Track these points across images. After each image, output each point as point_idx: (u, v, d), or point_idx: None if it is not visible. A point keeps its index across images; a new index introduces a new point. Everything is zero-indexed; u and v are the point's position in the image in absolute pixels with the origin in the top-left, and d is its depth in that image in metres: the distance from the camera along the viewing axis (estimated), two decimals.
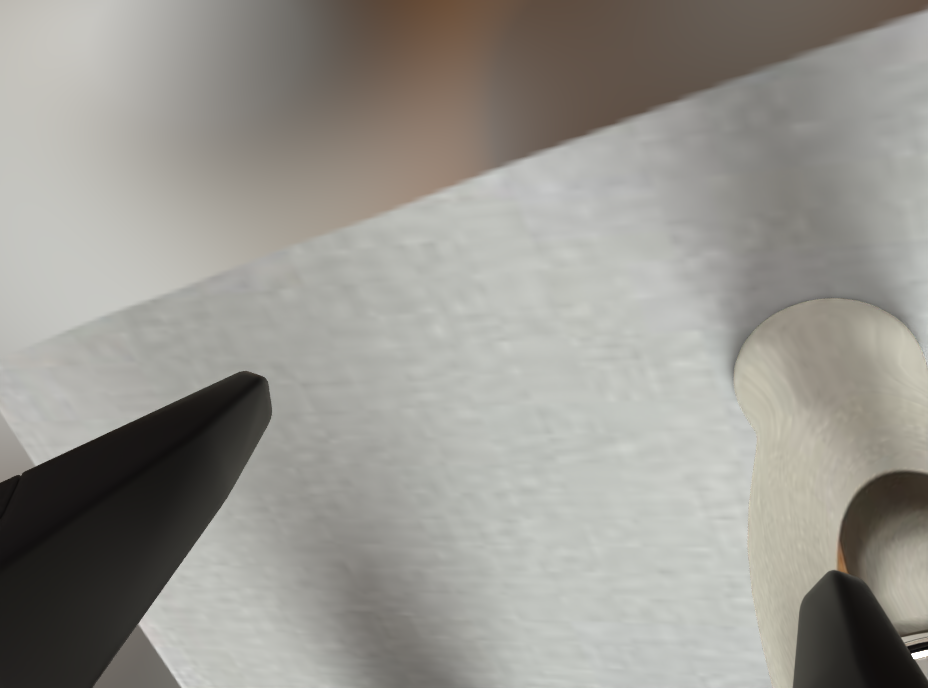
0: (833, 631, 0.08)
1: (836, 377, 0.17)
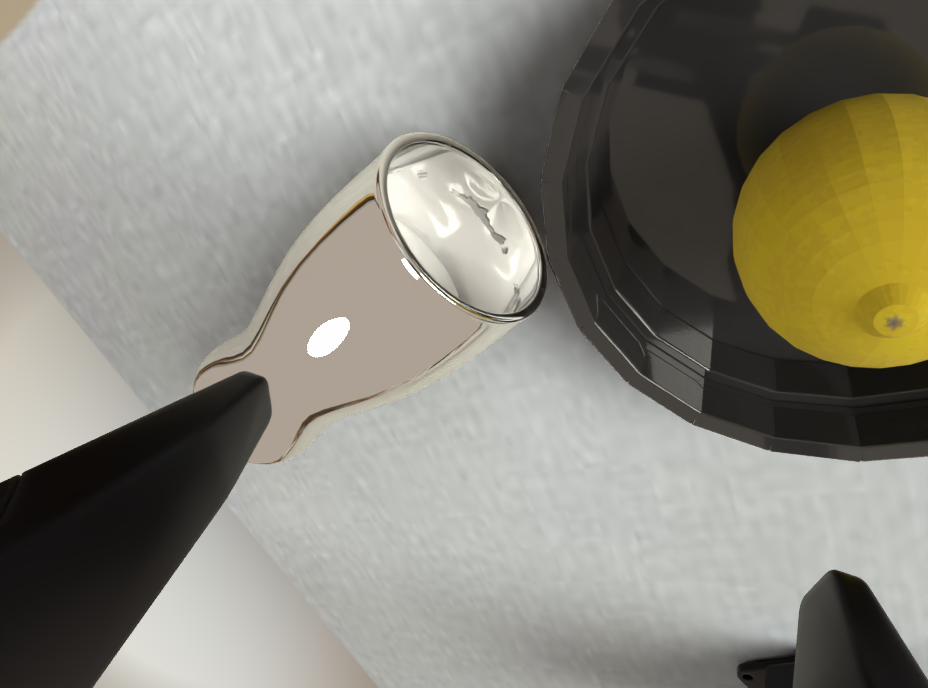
0: (833, 631, 0.08)
1: (273, 390, 0.22)
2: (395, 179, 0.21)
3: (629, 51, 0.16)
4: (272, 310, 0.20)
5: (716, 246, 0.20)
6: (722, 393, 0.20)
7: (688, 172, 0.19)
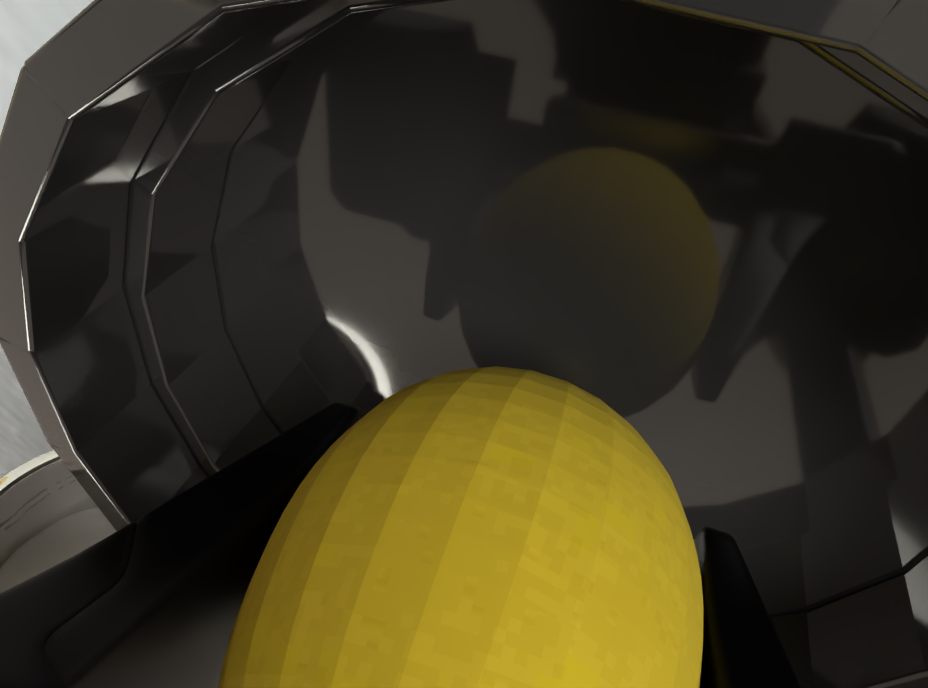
0: None
1: None
2: None
3: (157, 347, 0.11)
4: None
5: None
6: None
7: None
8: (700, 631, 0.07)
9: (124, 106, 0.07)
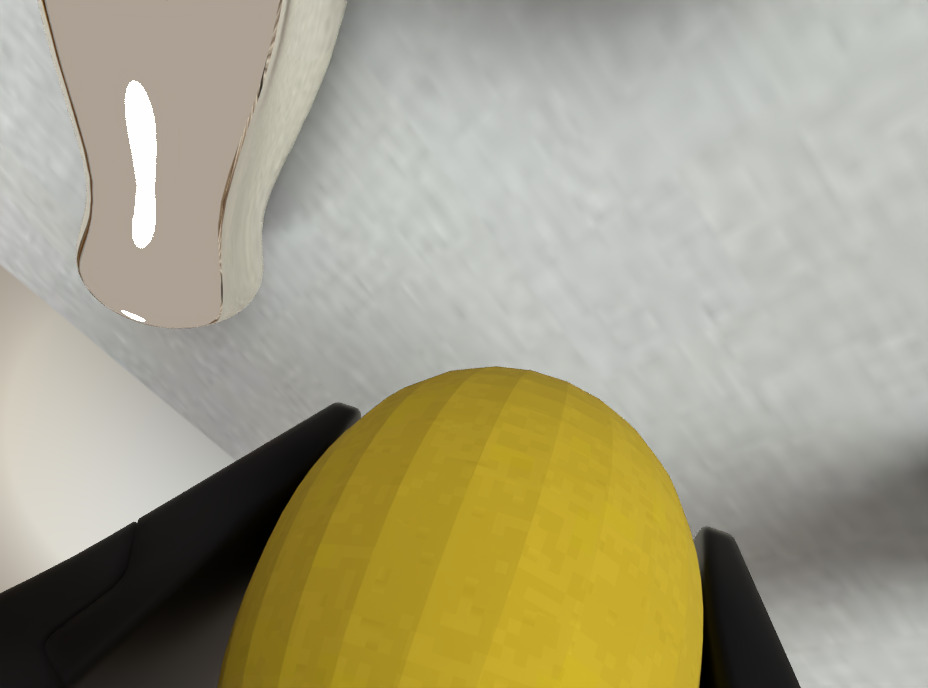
0: None
1: (107, 167, 0.16)
2: None
3: None
4: None
5: None
6: None
7: None
8: (700, 632, 0.07)
9: None
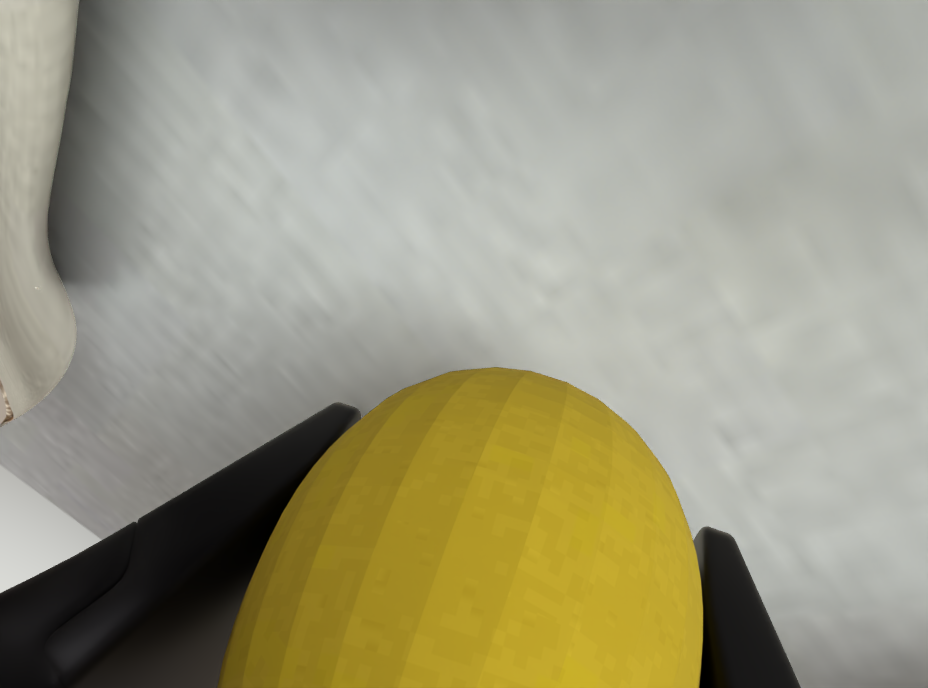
0: None
1: None
2: None
3: None
4: None
5: None
6: None
7: None
8: (699, 632, 0.07)
9: None
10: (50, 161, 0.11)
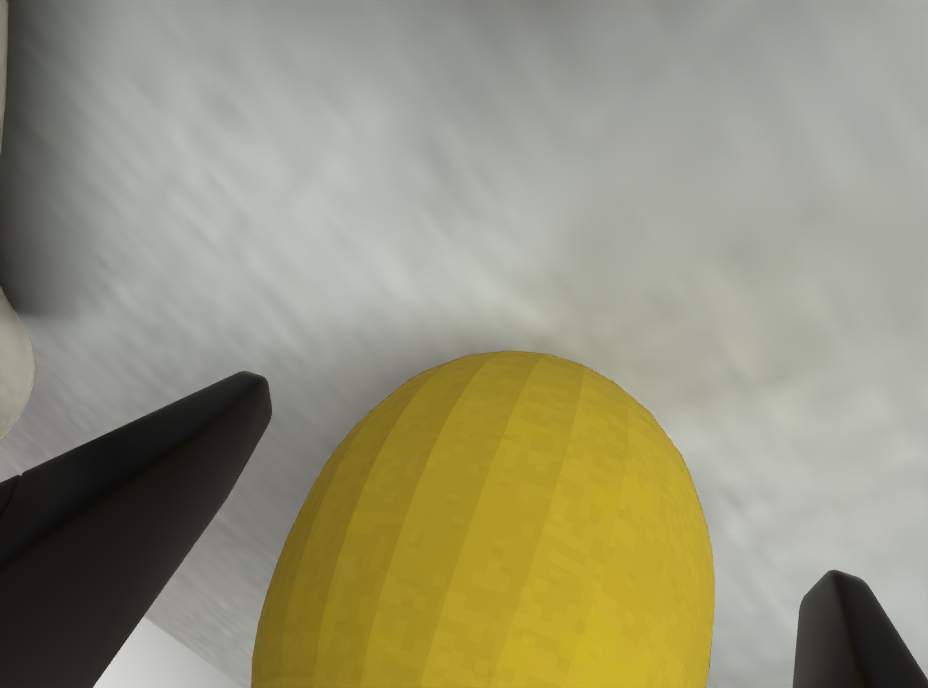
0: (833, 631, 0.08)
1: None
2: None
3: None
4: None
5: None
6: None
7: None
8: (712, 599, 0.07)
9: None
10: None
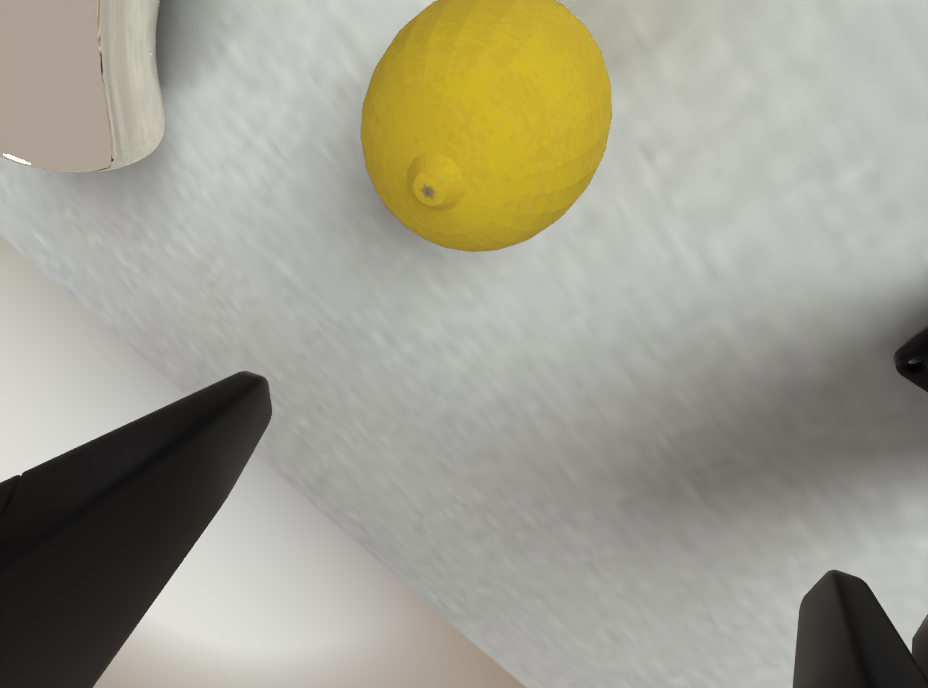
0: (833, 631, 0.08)
1: None
2: None
3: None
4: None
5: None
6: None
7: None
8: (605, 88, 0.13)
9: None
10: None
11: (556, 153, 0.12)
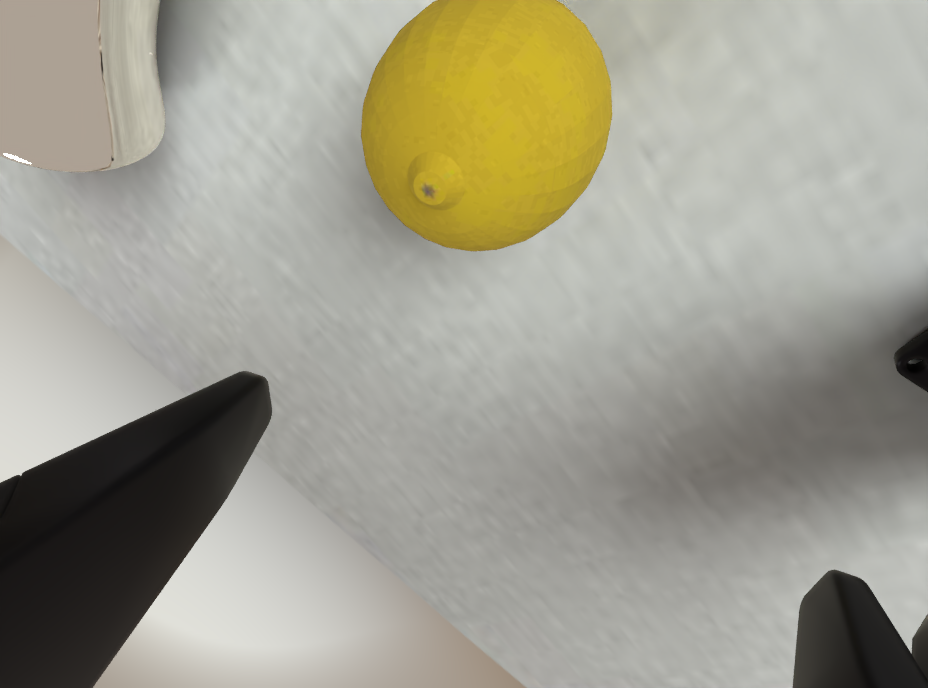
0: (833, 631, 0.08)
1: None
2: None
3: None
4: None
5: None
6: None
7: None
8: (606, 88, 0.13)
9: None
10: None
11: (556, 152, 0.12)
